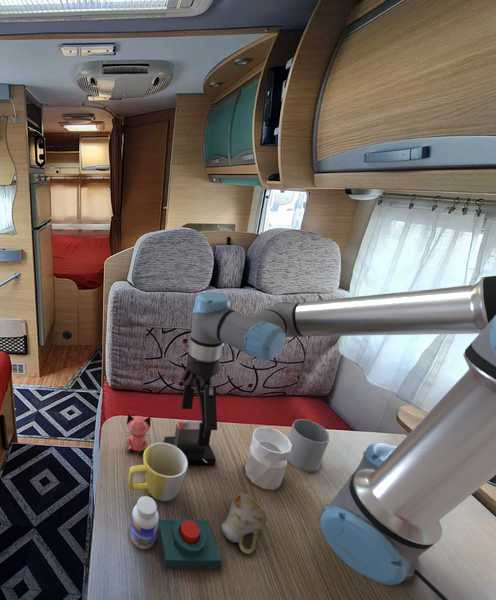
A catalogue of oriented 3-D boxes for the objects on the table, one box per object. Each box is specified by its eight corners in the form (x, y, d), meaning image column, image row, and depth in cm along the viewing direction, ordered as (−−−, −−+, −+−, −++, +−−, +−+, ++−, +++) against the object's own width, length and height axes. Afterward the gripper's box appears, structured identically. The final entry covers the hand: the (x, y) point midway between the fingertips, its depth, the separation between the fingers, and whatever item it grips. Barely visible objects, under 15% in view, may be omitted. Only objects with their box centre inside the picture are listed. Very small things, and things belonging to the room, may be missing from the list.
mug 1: (177, 473, 85) (182, 442, 81) (187, 510, 76) (192, 478, 72) (125, 471, 85) (127, 440, 82) (128, 509, 76) (130, 476, 72)
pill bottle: (126, 542, 69) (129, 511, 65) (134, 519, 74) (137, 488, 70) (152, 554, 67) (156, 522, 63) (158, 530, 72) (162, 498, 68)
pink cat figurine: (123, 456, 90) (125, 422, 85) (124, 438, 96) (126, 405, 92) (149, 460, 89) (152, 425, 85) (148, 441, 95) (152, 408, 91)
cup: (326, 472, 86) (337, 443, 83) (294, 471, 87) (304, 442, 83) (307, 447, 94) (316, 419, 91) (278, 446, 94) (286, 418, 91)
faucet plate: (202, 439, 96) (204, 432, 95) (216, 470, 86) (218, 462, 85) (162, 439, 96) (163, 432, 95) (171, 470, 86) (172, 463, 85)
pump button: (195, 525, 69) (196, 520, 68) (200, 543, 66) (201, 538, 65) (178, 525, 69) (179, 520, 68) (182, 543, 66) (183, 538, 65)
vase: (287, 479, 84) (299, 443, 80) (269, 496, 80) (280, 459, 75) (255, 456, 91) (264, 422, 87) (237, 471, 86) (245, 435, 82)
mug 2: (209, 531, 72) (221, 486, 72) (236, 529, 77) (247, 486, 77) (239, 557, 65) (252, 507, 66) (266, 553, 70) (278, 506, 71)
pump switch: (206, 526, 72) (209, 514, 71) (219, 567, 65) (223, 554, 64) (157, 526, 72) (159, 514, 71) (164, 567, 65) (166, 554, 63)
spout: (201, 443, 92) (205, 421, 89) (205, 450, 89) (209, 428, 86) (173, 443, 91) (176, 421, 88) (176, 451, 89) (179, 428, 86)
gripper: (242, 385, 68) (227, 463, 75) (202, 332, 91) (193, 395, 99) (206, 386, 68) (195, 463, 75) (175, 332, 91) (168, 395, 99)
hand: (194, 425), depth 87 cm, fingers open, 13 cm apart
